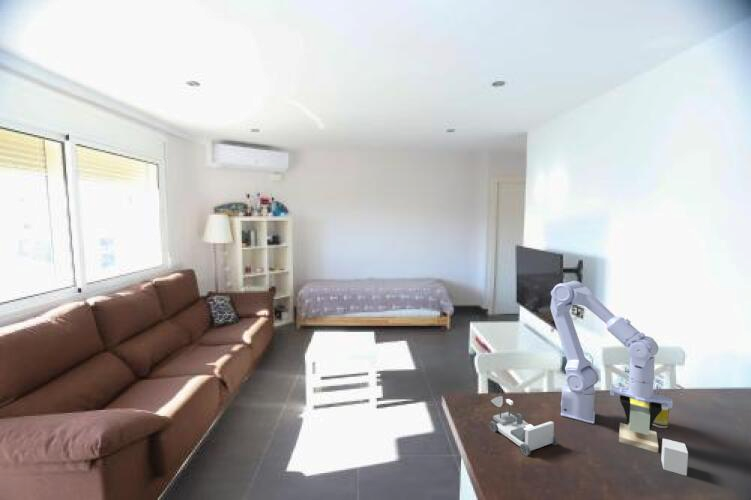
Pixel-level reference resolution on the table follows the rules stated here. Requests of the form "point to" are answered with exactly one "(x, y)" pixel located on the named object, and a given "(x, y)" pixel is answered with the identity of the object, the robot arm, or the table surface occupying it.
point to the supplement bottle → (662, 418)
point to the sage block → (639, 419)
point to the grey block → (674, 456)
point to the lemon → (638, 403)
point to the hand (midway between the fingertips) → (638, 424)
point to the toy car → (522, 429)
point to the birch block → (638, 438)
